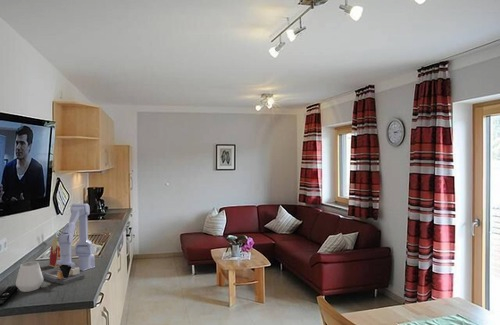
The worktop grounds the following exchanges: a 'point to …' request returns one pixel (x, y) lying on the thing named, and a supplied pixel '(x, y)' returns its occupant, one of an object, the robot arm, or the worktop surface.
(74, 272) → the block
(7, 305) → the worktop surface
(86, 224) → the robot arm
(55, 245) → the milk carton
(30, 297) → the worktop surface
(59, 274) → the fader orange
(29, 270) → the cup
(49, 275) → the mixing panel
